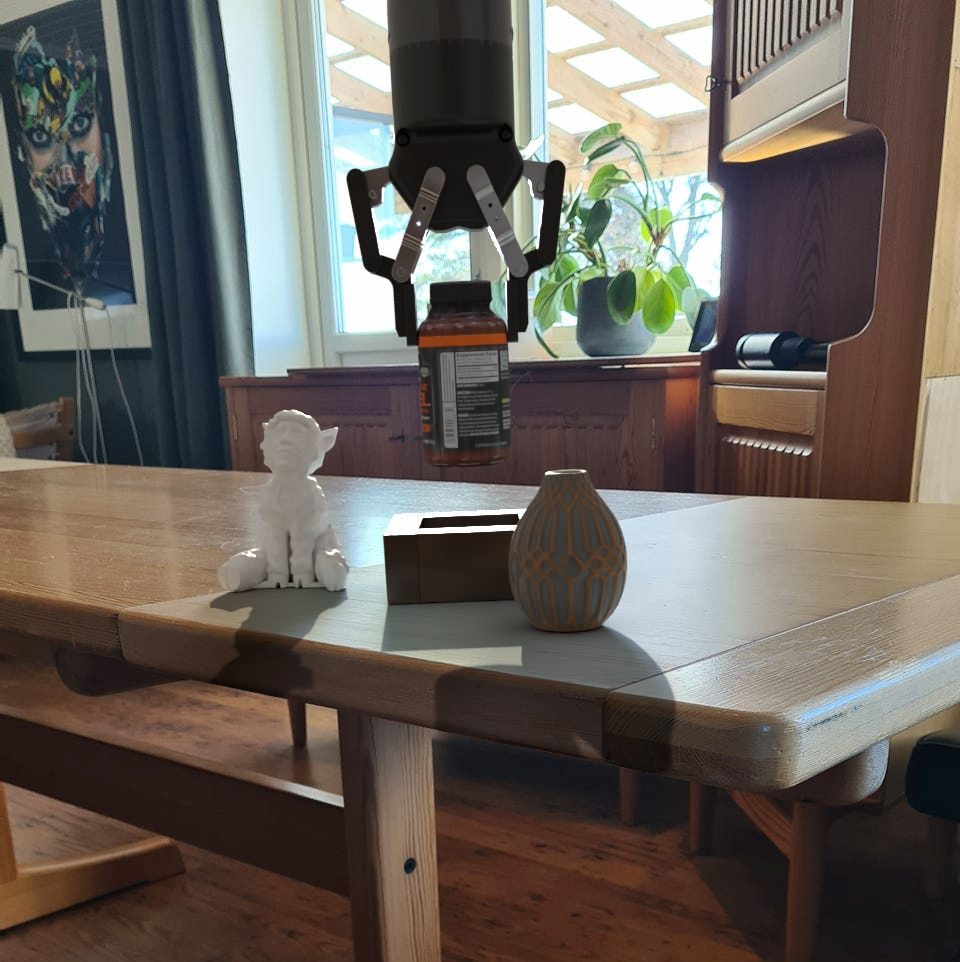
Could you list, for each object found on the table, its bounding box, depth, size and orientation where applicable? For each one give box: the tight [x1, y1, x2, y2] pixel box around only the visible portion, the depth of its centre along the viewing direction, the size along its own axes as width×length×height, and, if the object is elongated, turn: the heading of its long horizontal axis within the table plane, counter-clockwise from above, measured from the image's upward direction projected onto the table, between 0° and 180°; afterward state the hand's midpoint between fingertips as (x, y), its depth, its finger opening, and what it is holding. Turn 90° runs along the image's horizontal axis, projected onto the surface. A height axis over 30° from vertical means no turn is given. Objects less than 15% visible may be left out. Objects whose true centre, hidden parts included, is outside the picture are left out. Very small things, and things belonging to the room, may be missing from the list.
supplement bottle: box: [417, 279, 512, 468], centre depth 85 cm, size 6×6×11 cm
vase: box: [508, 469, 628, 633], centre depth 74 cm, size 7×7×9 cm
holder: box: [382, 508, 526, 605], centre depth 89 cm, size 11×11×4 cm
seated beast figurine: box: [216, 409, 350, 593], centre depth 92 cm, size 10×9×12 cm
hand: (463, 343), depth 84 cm, fingers closed on supplement bottle, 6 cm apart
